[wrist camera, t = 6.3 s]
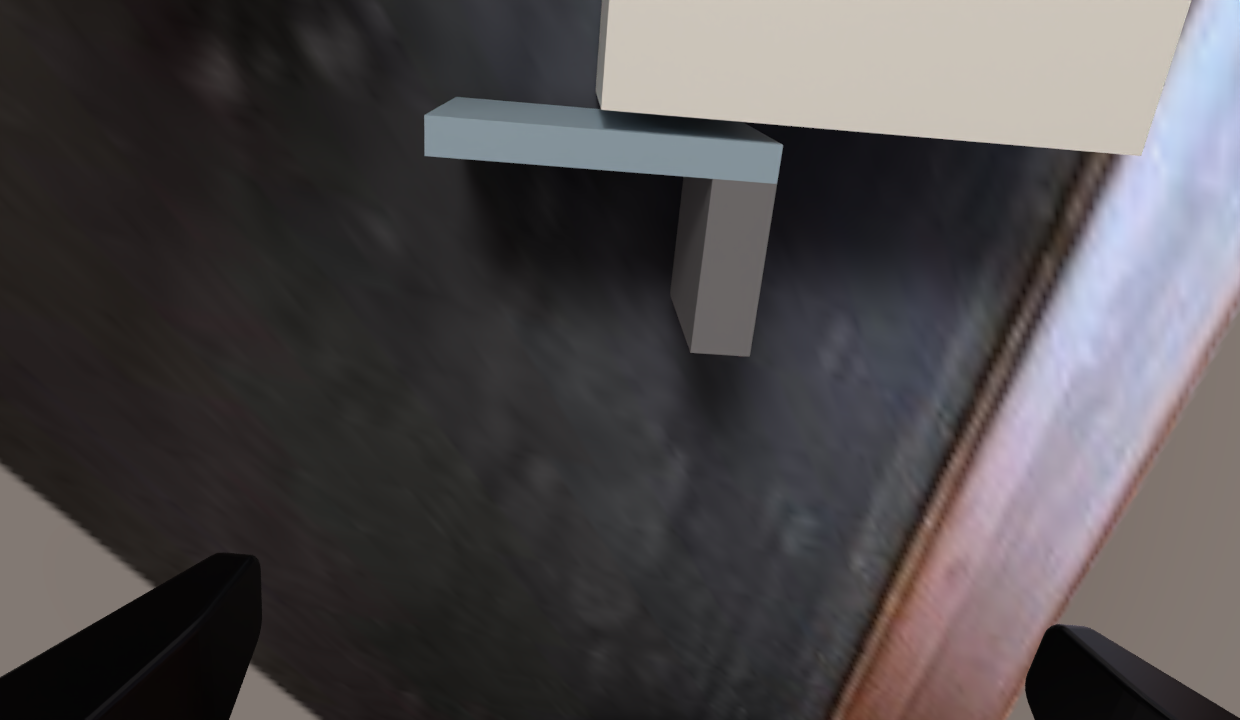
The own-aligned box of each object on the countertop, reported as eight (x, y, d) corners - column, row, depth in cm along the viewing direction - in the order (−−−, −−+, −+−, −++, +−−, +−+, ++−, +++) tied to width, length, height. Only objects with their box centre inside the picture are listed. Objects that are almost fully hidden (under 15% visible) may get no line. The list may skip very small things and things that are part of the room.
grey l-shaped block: (717, 295, 20) (749, 356, 16) (454, 277, 19) (425, 336, 16) (741, 121, 18) (783, 145, 15) (456, 97, 18) (424, 115, 14)
